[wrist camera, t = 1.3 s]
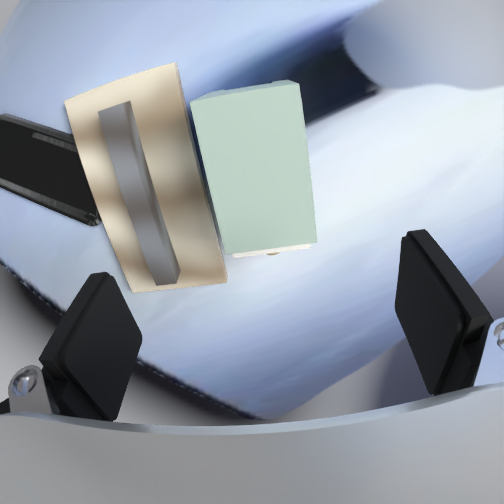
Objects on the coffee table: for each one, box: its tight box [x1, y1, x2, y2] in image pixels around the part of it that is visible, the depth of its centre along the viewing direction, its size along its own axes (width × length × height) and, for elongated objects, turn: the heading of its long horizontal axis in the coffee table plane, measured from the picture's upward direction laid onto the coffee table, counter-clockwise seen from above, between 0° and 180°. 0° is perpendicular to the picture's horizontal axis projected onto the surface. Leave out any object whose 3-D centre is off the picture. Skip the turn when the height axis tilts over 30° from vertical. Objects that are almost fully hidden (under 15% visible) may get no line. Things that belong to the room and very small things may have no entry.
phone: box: [0, 114, 102, 226], centre depth 25 cm, size 8×1×15 cm
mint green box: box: [190, 80, 317, 258], centre depth 22 cm, size 11×6×8 cm, turn 10°
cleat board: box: [64, 63, 228, 293], centre depth 26 cm, size 20×10×3 cm, turn 10°
